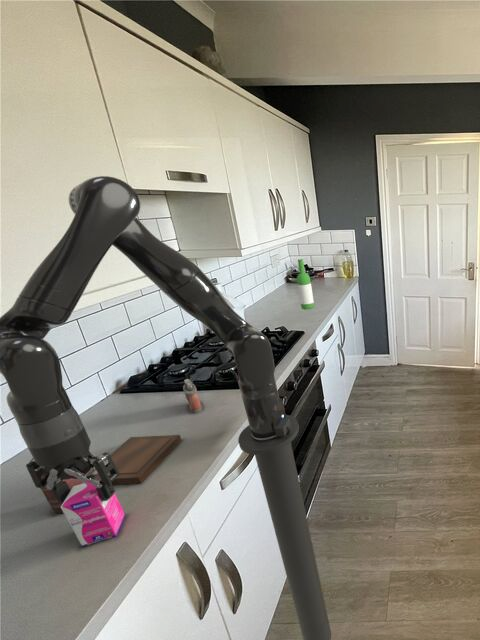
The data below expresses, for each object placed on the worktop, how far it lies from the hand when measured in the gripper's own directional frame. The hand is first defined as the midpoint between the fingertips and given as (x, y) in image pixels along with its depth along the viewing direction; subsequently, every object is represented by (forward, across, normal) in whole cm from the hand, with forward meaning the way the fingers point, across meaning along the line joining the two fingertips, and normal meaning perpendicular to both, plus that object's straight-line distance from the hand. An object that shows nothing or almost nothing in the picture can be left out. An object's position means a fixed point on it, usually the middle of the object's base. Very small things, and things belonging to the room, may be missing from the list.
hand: (87, 498), depth 71 cm
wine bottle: (+9, +1, -151) cm, 151 cm away
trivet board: (+9, +9, -21) cm, 25 cm away
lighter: (+9, +8, -46) cm, 48 cm away
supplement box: (+10, 0, 0) cm, 10 cm away
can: (+10, +14, -8) cm, 18 cm away
